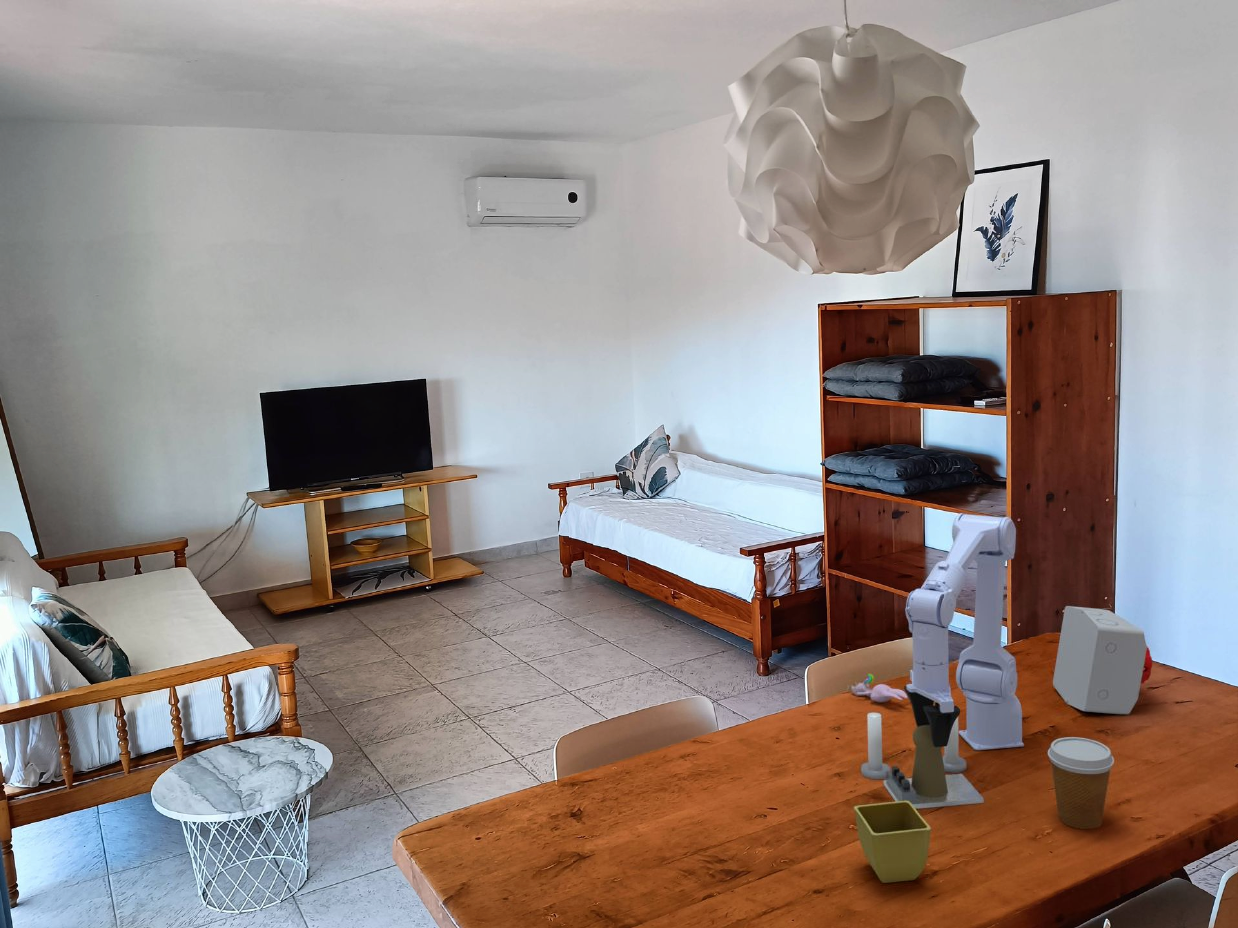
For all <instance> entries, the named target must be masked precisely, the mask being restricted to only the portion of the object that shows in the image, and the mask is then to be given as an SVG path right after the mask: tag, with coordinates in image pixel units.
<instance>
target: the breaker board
mask: <svg viewBox="0 0 1238 928" xmlns="http://www.w3.org/2000/svg"><path fill="white" fill-rule="evenodd" d="M945 776H946V783H947V789H948V792H947V794H945V795H944V796H941V797H924V796H921V795H918V794H916V791H915V789H914V788H913V787H912V785H911V783H912V777H909V778H907V777H906V776H905V774H904V773H903V772H902V771H901V769H900V767H899V766H898V765H893V766H891V769H890V771H886V778H885V779H886V780H885V779H883V786H884V787H885V789H886V790H887V791H888V793H889V794H890V796H891V798H893V800H894V802H897V801H909V802H910V803H911V804H912V805H913V806H914V808H915V809H916V810H917V809H918V810H919V809H928V808H941V807H949V806H950V807H951V806H952V807H953V806H961V805H962V806H963V805H975V804H984V797H983V796H982V795H981V794H980V793H979V792H978V790H977V789H976V788H975V787H974V786H973V784H972V783H971V782H970V781H969V780H968V779H967V778H966V776H964V774H962V773H952V774H945Z"/></svg>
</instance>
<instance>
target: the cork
mask: <svg viewBox="0 0 1238 928" xmlns="http://www.w3.org/2000/svg"><path fill="white" fill-rule="evenodd" d="M912 741H913V744H914V745H915V753H914V759H913V761H914V762H913V769H912V776H911V778H912V783H911V785H912V787H913V788H914V789H915V791H916V794H918V795H921V796H924V797H941V796H944V795H945V794H947V792H948V789H947V783H946V776H945V775H946V772H945V770H944V763H943V757H942V756H943V750H942V748H943V747H935V746H934V745H933V742H932V737H931V729H930V725H922V726H919V727H917V726H916V728H914V730H913V733H912Z"/></svg>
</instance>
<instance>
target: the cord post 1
mask: <svg viewBox="0 0 1238 928" xmlns="http://www.w3.org/2000/svg"><path fill="white" fill-rule="evenodd" d="M866 716H867V752H868V753H867V754H868V760H867V762H864V763H862V764H861V766H860V767H861V768H860V770H861V775H862V776H863V777H865V778H866V777H867V778H866V779H869V778H870V780H875V779H876V780H877V779H880V780H885V779H886V771H890V770H891V768H890V765H888V764H887V763H884V762H883V742H882V741H883V740H882V739H883V737H882V730H883V729H882V714H881V713H879V712H868V713H867V715H866ZM877 781H878V780H877Z"/></svg>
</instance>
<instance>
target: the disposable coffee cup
mask: <svg viewBox="0 0 1238 928" xmlns="http://www.w3.org/2000/svg"><path fill="white" fill-rule="evenodd" d="M1047 755H1048V758H1049V760H1050V762H1051V771H1052V777H1053V778H1052V779H1053V785H1054V792H1055V793H1054V794H1055V801H1056V807H1057V809H1056V810H1057V815H1058V819H1059V820H1060V822H1062V823H1063V824H1065V825H1067V826H1069V827H1071V828H1076V829H1081V830H1092V829H1096V828H1099V827H1100V826H1101V825H1102V823H1103V817H1104V816H1103V815H1104V811H1105V805H1106V804H1105V803H1106V797H1107V791H1108V785H1109V781H1110V780H1109V779H1110V773H1111V769H1112V767H1113V766H1114V764H1115V758H1114V756H1113V755H1112V753H1111V749H1110V748H1109V747H1108V746H1107V745H1105V744H1103V743H1101V742H1100V741H1097V740H1094V739H1090V738H1085V737H1078V736H1077V737H1075V736H1071V737H1070V736H1069V737H1068V736H1067V737H1060V738H1057V739H1055V740H1053V741H1052V742H1051V744H1050V748H1049V749H1048V750H1047Z"/></svg>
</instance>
